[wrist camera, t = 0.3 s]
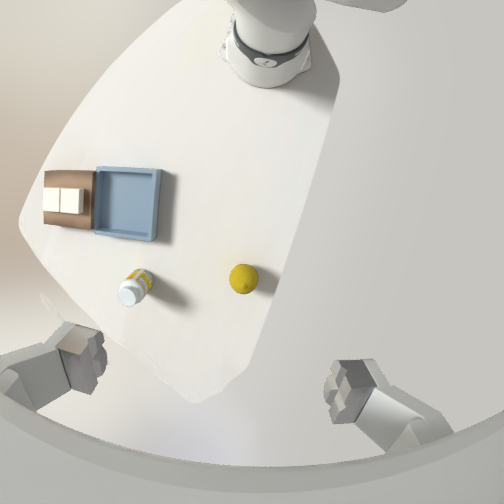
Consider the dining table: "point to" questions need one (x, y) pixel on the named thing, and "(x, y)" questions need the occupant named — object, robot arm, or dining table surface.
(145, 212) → the box
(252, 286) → the lemon
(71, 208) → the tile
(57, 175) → the flat wooden block
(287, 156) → the dining table surface
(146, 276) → the supplement bottle
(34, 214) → the dining table surface
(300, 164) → the dining table surface
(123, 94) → the dining table surface
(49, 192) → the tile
